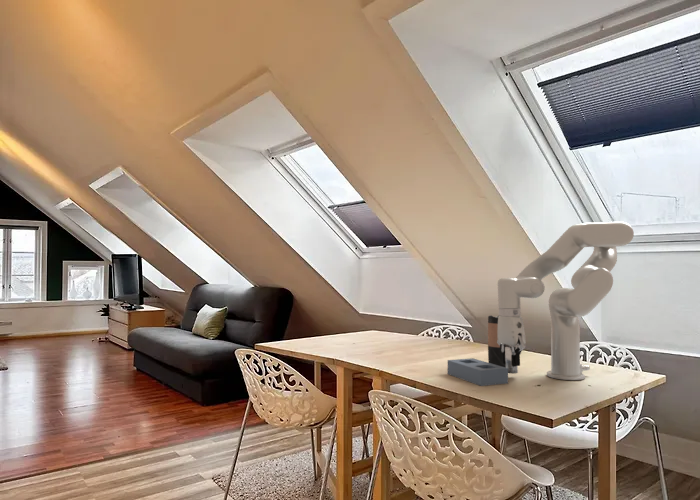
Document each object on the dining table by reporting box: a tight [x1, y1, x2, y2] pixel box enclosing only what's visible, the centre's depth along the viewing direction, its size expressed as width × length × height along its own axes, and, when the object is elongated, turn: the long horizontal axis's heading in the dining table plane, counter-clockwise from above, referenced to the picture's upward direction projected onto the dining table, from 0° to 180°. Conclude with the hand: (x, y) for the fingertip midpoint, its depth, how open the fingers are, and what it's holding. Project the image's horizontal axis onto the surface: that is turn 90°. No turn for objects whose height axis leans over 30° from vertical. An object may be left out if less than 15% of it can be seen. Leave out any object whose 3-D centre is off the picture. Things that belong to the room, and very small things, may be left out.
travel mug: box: [487, 315, 506, 368], centre depth 203 cm, size 8×8×20 cm
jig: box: [447, 357, 509, 387], centre depth 185 cm, size 11×20×5 cm, turn 22°
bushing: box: [505, 346, 519, 375], centre depth 187 cm, size 4×4×9 cm
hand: (511, 364), depth 187 cm, fingers closed on bushing, 4 cm apart
